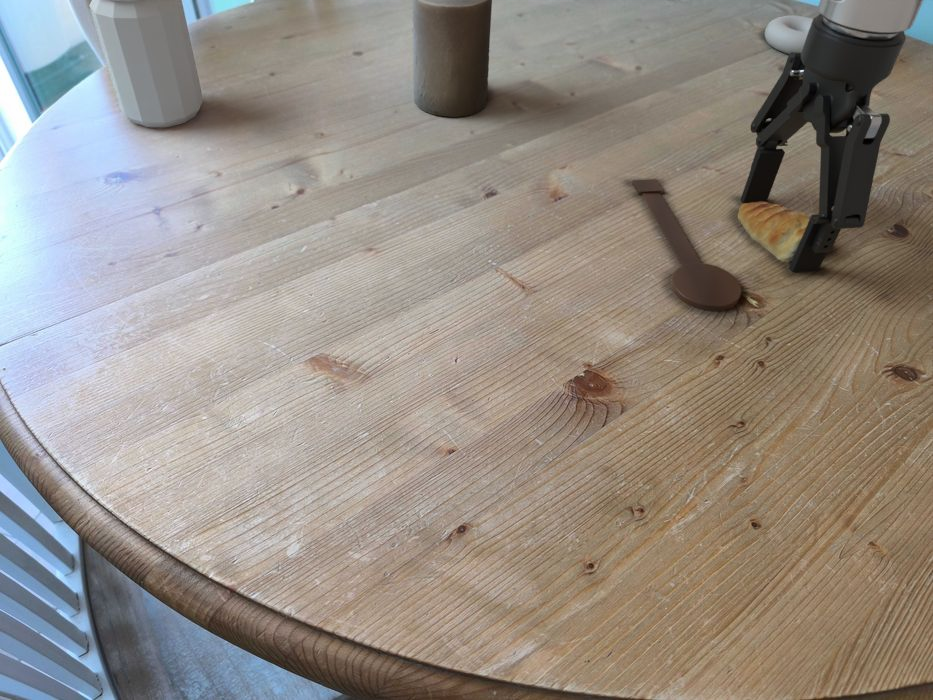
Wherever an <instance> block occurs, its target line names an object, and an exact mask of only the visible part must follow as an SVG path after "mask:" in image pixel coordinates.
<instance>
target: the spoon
mask: <svg viewBox="0 0 933 700" xmlns="http://www.w3.org/2000/svg"><path fill="white" fill-rule="evenodd" d="M631 186H633V188H634V190H635V192H636V193H637V196H642V198H643V199H644V201H645V203H646V205H647V207H648V208H649V211H650V212H651V214H652V216H653V217H654V219H655V221H656V223H657V224H658V226H659V228H660V230H661V232H662V234H663V235H664V237H665V239H666V240H667V243H668V244H669V246H670V248H671V250H672V251H673V253H674V255H675V257H676V258H677V260H678V262H679V263H680V266H679V267H678V268H677V269H676V270H674V272H673V273H672V277H671V280H670V288H671V290H672V292H673V294H674V295H675V296H676V297H677V298H678V299H679V301H681V302H682V303H684V304H685V305H687V306H690V307H691V308H695V309H697V310H702V311H705V312H722V311H727V310H729V309H732V308H733V307H735V306H736V305H737V304H738V302H739V301H740V298H741V295H742V286H741V283H740V282H739V280H738V279H737V278H736V277H735V276H734V275H733V274H732V273H731V272H729V271H728V270H726V269H724V268H722V267H719V266H717V265H713V264H709V263H704V262H701V260H700V258H699V256H698V255H697V252H696V251H695V250H694V247H692V244H691V242H690V241H689V239H688V238H687V236H686V233H684V231H683V229H682V228H681V226H680V224H679V222H678V221H677V219H676V217H675V216H674V214H673V212H672V210H671V209H670V207H669V206H668V204H667V203H666V201H665V199H664V197H663V196H662V195H663V194H664V188H663V187H662V186H661V184H660V183H659V180H658V179H657V178H655V179H654V178H653V179H652V178H651V179H633V180H632V183H631Z"/></svg>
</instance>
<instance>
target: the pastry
mask: <svg viewBox="0 0 933 700" xmlns="http://www.w3.org/2000/svg"><path fill="white" fill-rule="evenodd" d="M810 218H811V217H810ZM810 218H809V217H808V216H807V214H806V213H805V212H803V211H796V210H794V211H793V210H792V209H791V208H787V207H784V206H782V205H781V204H778V203H772V202H768V201H767V202H764V201H760V202H752V203H744V204H743V203H742V204H741V205H740V206H739V208H738V213H737V220H738V221H739V222H740V224H741V225H742V226H743V229H744V231H746V232H747V233H748V235H749V237H750V238H751V239H752V240H753V241H755V242H756V243H758V244H759V245H761V246H762V247H763V248H765V249H766V250H767V251H768V252H770V253H771V255H773V256H774V257H775V258H776V259H777V260H779V261H780V262H783V263H787V264H788V263H791V262H792V260H793V257H794V255H795V253H796V250H797V248H798V246H799V243H800V241H801V239H802V236H803V234H804V232H805V229H806V227H807V225H808V222H809V220H810Z"/></svg>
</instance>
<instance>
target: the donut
mask: <svg viewBox="0 0 933 700" xmlns="http://www.w3.org/2000/svg"><path fill="white" fill-rule="evenodd" d="M813 19H814V18H811V17H808V16H802V15H783V16H778V17H776V18H774V19H772V20H771V21H769V22H768V24H767V26H766V28H765V30H764V37H765V40H766V42H767V44H768V45H769V46H770V47H772V48H773V49H775V50H777V51H779V52H781V53H785V54H788V55H789V54H790V53H791V52H802V49H803V46H804V43H805V41H806V38H807V35H808V32H809V29H810V26H811V24H812V21H813Z"/></svg>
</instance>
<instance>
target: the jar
mask: <svg viewBox="0 0 933 700" xmlns="http://www.w3.org/2000/svg"><path fill="white" fill-rule="evenodd" d="M88 7H89V10H90V12H91V16H92V19H93V23H94V26H95V29H96V33H97V37H98V39H99V43H100V46H101V49H102V53H103V56H104V60H105V63H106V65H107V69H108V73H109V76H110V79H111V83H112V86H113V90H114V93H115V96H116V100H117V102H118V106H119V109H120V110H121V112H122V113H123V114H124V116H125V117H126V118H127V119H128V120H130V121H131V122H133V123H134V124H136V125H139V126H142V127H145V128H171V127H175V126H178V125H182V124H185V123H187V122H188V121H190V120H192V119H193V118H195V117H196V116H197V114H198V112H199V110H200V109H201V106H202V105H203V104H202V103H203V101H204V96H203V93H202V87H201V82H200V78H199V74H198V68H197V64H196V59H195V55H194V50H193V46H192V40H191V37H190V32H189V27H188V22H187V18H186V13H185V8H184V4H183V0H91V1H90V3H89V5H88Z"/></svg>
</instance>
